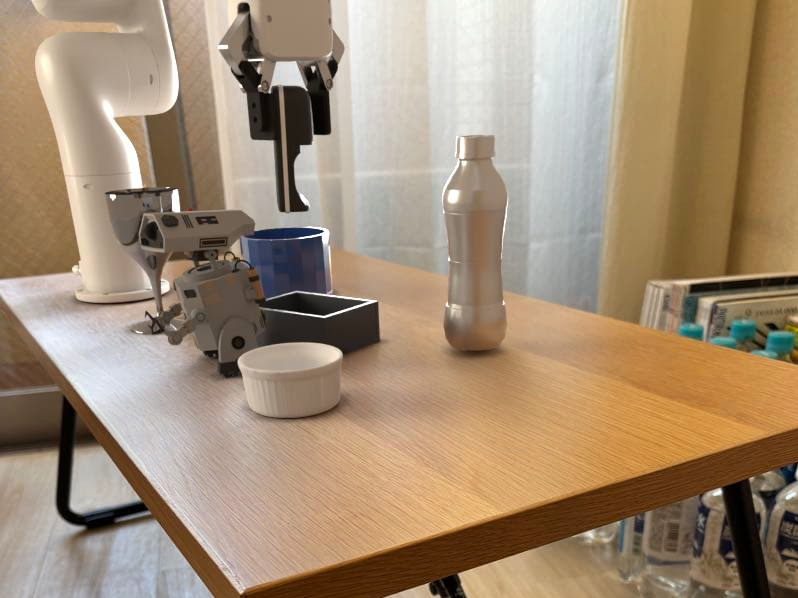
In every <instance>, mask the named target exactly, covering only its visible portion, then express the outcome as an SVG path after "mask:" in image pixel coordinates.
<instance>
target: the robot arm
mask: <svg viewBox="0 0 798 598" xmlns="http://www.w3.org/2000/svg"><path fill="white" fill-rule="evenodd" d="M30 1H31V4H32V6H33V7H34V8H35V10H36V11H37V12H38V14H39V15H41V16H42V17H44V18H46V19H48V20H52V21H57V22H64V23H83V24H84V23H85V24H86V23H88V24H93V23H95V24H114V25H115V27H116V29H117V32H106V31H69V32H60V33H57V34H53V35H51V36H48V37H47V38H45V39H44V40H43V41H42V42H41V43H40V44H39V46H38V48H37V50H36V53H35V57H34V70H35V71H34V72H35V75H36V79H37V83H38V86H39V89H40V93H41V95H42V97H43V100H44V103H45V106H46V108H47V111H48V115H49V117H50V120H51V124H52V127H53V131H54V134H55V139H56V142H57V146H58V147H57V148H58V151H59V156H60V161H61V166H62V172H63V175H64V180H65V185H66V192H67V195H68V202H69V207H70V213H71V216H72V222H73V227H74V233H75V238H76V242H77V248H78V254H79V258H80V260H78V264H75V265H73V266H72V268H71V271H72V273H73V274H74V275H75V276H81V281H82V285H80V286H78V287H75V289H74V293H75V294H74V295H75V299H77V300H78V301H81V302H85V303H93V304H114V303H115V304H116V303H125V302H126V303H128V302H135V301H136V302H137V301H142V300H147V299H151V298H154V294H153V290H152V286H151V283H150V280H149V278H148V276H147V274H146V272H145V271H144V270H143V268H142V267H141V266H140V265H139V264H138V263H137V262H136V261H135V260H134V259H133V258H132V257H131V256H129V255H128V254H127V253H126V252H125V251H124V250H123V248H122V247H121V246H120V244H119V242H118V241H117V239H116V236H115V234H114V231H113V229H112V226H111V222H110V219H109V215H108V211H107V206H106V200H105V193H106V192H109V191H115V190H123V189H133V188H144V187H143V181H142V175H141V170H140V163H139V159H138V155H137V151H136V149H135V147H134V145H133V143H132V142H131V140H130V138H129V137H128V136H127V135H126V134H125V132H124V131H123V130H122V128H121V127H120V126H119V124H118V123H117V122H116V120H115V118H121V117H137V116H140V117H141V116H153V115H159V114H165V113H166V112H168V111H169V110H170V109H172V108H173V106H174V105H175V103H176V101H177V98H178V94H179V73H178V66H177V62H176V58H175V57H176V56H175V52H174V48H173V43H172V39H171V34H170V30H169V25H168V21H167V16H166V13H165V12H166V11H165V6H164V3H163V0H30ZM332 11H333V10H332V1H331V0H226V19H227V31H226V32H225V34H224V35H223V37H222V38H221V40H220V41H219V43H218V51H219V53H220V55H221V56H222V57H223V59H224V61H225V62H226V64H227V65H228V67H230V72H231V74H232V76H234V78H235V79H236V80H237V82H238V83H239V89H240V92H242V93H243V94H245V95H246V104H247V115H248V116H247V117H248V125H249V126H248V128H249V137H250V139H251V140H252V141H270V142H271V141H273V140H277V139H278V137H279V133H278V121H277V108H276V97H275V93H271V92H270V91H271V87H272V82H273V77H274V73H275V68H276V64H277V63H289V62H290V63H291V62H295V63H296V66H297V68H298V71H299V74H300V76H301V79H302V82H303V84H304V87H305V90H306V91H307V92H308V94H309V96H310V100H311V109H312V120H313V134H314V136H330V135H331V134H332V122H331V120H332V119H331V117H332V116H331V101H330V100H331V99H330V91H332V90H333V88H334V79H335V77H336V75H337V73H338V69H339V64H340V62H341V59H342V57H343V56H344V53H345V45H344V42H343V41H342V40H341V38H340V37H339V36H338V34H337V33H336V31H335V30H334V29H333V27H334V26H333V12H332ZM313 67H314V68H315V69H314V71H313V69H312V68H313ZM259 68H260V69H259ZM258 69H259V71H258ZM170 289H171V288H170V282H169V281H168V280H167V279H164V278H161V296H162V295H165V294H167V293H168V292H170Z"/></svg>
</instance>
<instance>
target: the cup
mask: <svg viewBox="0 0 798 598" xmlns="http://www.w3.org/2000/svg"><path fill="white" fill-rule="evenodd" d="M238 240H239V248H240V256H241V257H240V258H241V260H245V261H247V262H248V263H250V265H251V267H256V269H257V272H258V274H259V278H260V283H261V286H262V290H263V293H264V296H265V298H266V299H269V298H272V297H276V296H280V295H283V294H287V293H290V292H294V291H301V292H309V293H317V294H325V295H334V294H333V289H334V287H333V275H332V273H333V272H332V261H331V260H332V259H331V249H330V248H331V246H330V243H331V242H330V231H329V230H328V229H326V228H322V227H316V226H314V227H313V226H283V227H282V226H281V227H280V226H279V227H269V228H262V229H254V235H244V236H241V237H240V238H239V239H238ZM241 263H243V264H244V265H246V266H247V267H248V268H250V267H249V265H248V264H247V263H246V262H241Z"/></svg>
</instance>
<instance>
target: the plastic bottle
mask: <svg viewBox="0 0 798 598" xmlns="http://www.w3.org/2000/svg"><path fill="white" fill-rule="evenodd" d="M495 140H496V137H495V135H494V134H470V135H458V136H456V139H455V152H454V158H456V159H457V160H458V161H457V165H456V166H455V169H454V170H453V172H452V173H451V175H450V176H449V178H448V179H447V182H446V183H445V186H444V187H443V192H442V196H441V203H442V210H443V211H442V212H443V220H444V227H445V233H446V240H447V241H446V242H447V255H448V260H447V261H448V280H447V281H448V282H447V296H446V301H447V302H446V304H445V308H444V314H443V316H444V317H443V330H444V336H445V340H446V341H447V343H448V345H449V346H450V347H451V348H454V349H457V350H461V351H462V350H463V351H472V352H479V351H485V350H491V349H492V350H493V349H495V348H497V347H499V346H500V345H501V344H502V343H503V341H504V339H505V338H506V334H507V327H508V318H507V309H506V304H505V301H504V287H503V286H504V284H503V273H502V271H503V270H502V266H503V257H502V254H503V248H504V235H505V228H506V221H507V213H508V206H509V192H508V188H507V185H506V184H505V183H506V182H504V179H503V178H502V176H501V174H500V172H499V171H498V170H497V168H496V166H495V165H494V161H493V158H495V157H496V155H497V154H496V153H497V152H496V150H495V144H496V141H495Z"/></svg>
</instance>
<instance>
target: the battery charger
mask: <svg viewBox="0 0 798 598" xmlns="http://www.w3.org/2000/svg"><path fill="white" fill-rule="evenodd" d="M307 91H308V90H307V89H306V88H304V87H303V86H301V85H284V84H277V85H271V86H270V93H275V97H276V108H277V121H278V133H279V137H278V139H277V140H272V141H273V157H274V174H275V175H274V176H275V187H276V188H275V190H276V191H275V192H276V205H277V209H278V211H279V213H285V214H290V213H306V212H309V211H310V206H311V205H310V202H309V200H308V198H305V196H304V195H303V194H301V193H300V191H299V190H298V188H297V185H296V179H295V162H296V160H297V157H298V156H299V155H300V154H301V153H302V148H301V146H303V147H304V146H312V145H313V142H314V141H315V138H314V136H315V135H314V134H313V120H312V109H311V100H310V96H309V94H308V92H307Z"/></svg>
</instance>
